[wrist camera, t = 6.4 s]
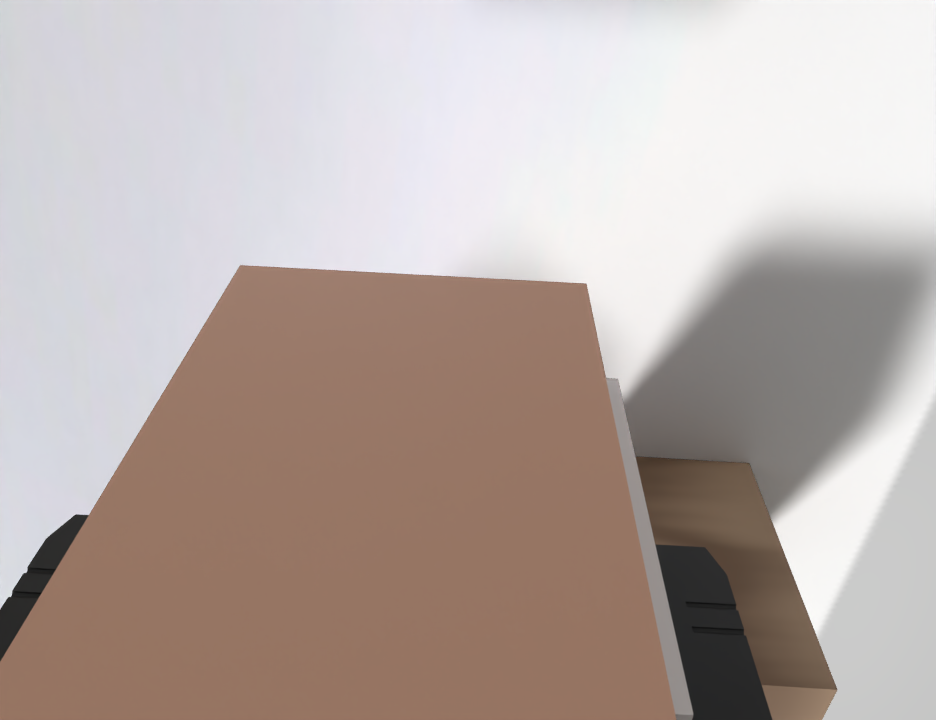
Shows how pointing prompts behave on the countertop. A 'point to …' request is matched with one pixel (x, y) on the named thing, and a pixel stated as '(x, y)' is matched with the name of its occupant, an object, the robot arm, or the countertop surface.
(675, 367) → the countertop surface
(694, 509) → the walnut block
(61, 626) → the terracotta block
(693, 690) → the robot arm
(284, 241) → the countertop surface
